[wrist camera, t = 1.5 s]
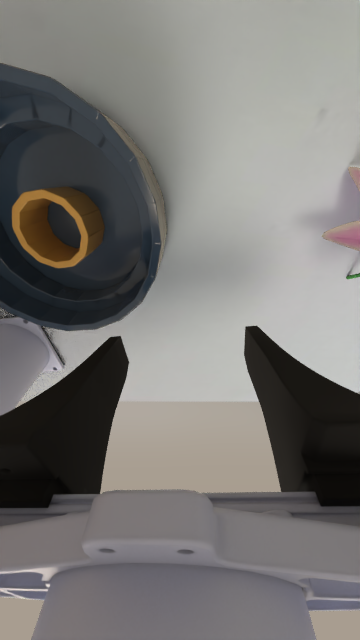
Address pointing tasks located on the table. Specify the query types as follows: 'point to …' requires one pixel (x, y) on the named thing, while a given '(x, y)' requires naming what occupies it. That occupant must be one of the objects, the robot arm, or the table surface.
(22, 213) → the ring
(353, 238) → the lily
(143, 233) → the bowl
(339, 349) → the table surface
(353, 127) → the table surface
